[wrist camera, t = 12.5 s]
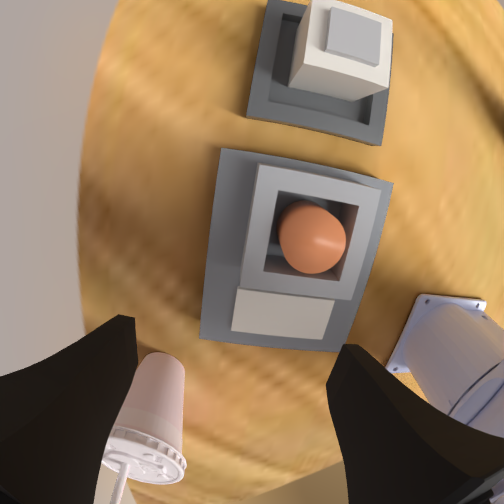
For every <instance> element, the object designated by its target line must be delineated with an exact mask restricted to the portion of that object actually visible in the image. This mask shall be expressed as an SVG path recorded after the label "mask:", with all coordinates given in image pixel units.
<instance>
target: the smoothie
mask: <svg viewBox="0 0 504 504" xmlns="http://www.w3.org/2000/svg"><path fill="white" fill-rule="evenodd" d="M184 379H185V370H184V367H183V365H182V364H181V362H180V361H179V360H177V359H176V358H175V357H173V356H171V355H169V354H166V353H161V352H154V353H150V354H148V355H147V356H145V358H144V359H143V361H142V362H141V364H140V365H139V367H138V368H137V370H136V372H135V375H134V378H133V381H132V384H131V387H130V389H129V392H128V394H127V396H126V398H125V401H124V403H123V405H122V407H121V409H120V412H119V414H118V416H117V418H116V421H115V423H114V425H113V428H112V430H111V432H110V435H109V438H108V440H107V443H106V447H105V450H104V454H103V458H102V462H101V463H102V464H104V465H105V466H107V467H108V468H110V469H112V470H113V471H115V472H117V473H119V474H118V477H117V480H116V484H115V487H114V491H113V494H112V498H111V501H110V504H120V501H121V497H122V494H123V490H124V486H125V482H126V479H127V477H128V478H131V479H134V480H137V481H141V482H146V483H152V484H172V483H176V482H178V481H180V480H181V479H182V478H183V477H184V471H185V468H186V466H187V464H186V459H185V458H184V457H183V455H182V424H183V398H184Z"/></svg>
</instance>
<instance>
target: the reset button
mask: <svg viewBox="0 0 504 504" xmlns="http://www.w3.org/2000/svg"><path fill="white" fill-rule="evenodd" d="M276 231H277V236H278V239H279V242H280V245H281V248H282V251H283V254H284V256H285V258H286V260H287V262H288V263H289V264H290V265H291V266H292V267H293V268H295V269H296V270H298V271H300V272H303V273H308V274H316V273H321V272H324V271H326V270H328V269H330V268H331V267H333V266H334V265H335V264H336V263H337V262H338V261H339V260H340V258H341V256H342V254H343V252H344V249H345V245H346V235H345V231H344V228H343V226H342V225H341V223H340V222H339V221H338V220H337V219H336V218H335V217H334V216H333V215H332V214H330V213H329V212H328V211H327V210H325V209H324V208H323V207H321V206H320V205H319V204H317V203H315V202H312V201H307V200H302V201H297V202H294V203H292V204H290V205H288V206H287V207H286V208H285V209H284V210H283V211H282V212H281V214H280V216H279V218H278V220H277V225H276Z"/></svg>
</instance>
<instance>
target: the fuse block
mask: <svg viewBox="0 0 504 504" xmlns="http://www.w3.org/2000/svg"><path fill="white" fill-rule="evenodd" d="M391 49H392V20H391V19H388V18H386V17H383V16H381V15H378V14H376V13H373V12H370V11H367V10H365V9H362V8H359V7H356V6H353V5H350V4H346V3H343V2H340V1H336V0H310V2H309V4H308V6H307V8H306V11H305V13H304V15H303V17H302V19H301V22H300V24H299V26H298V28H297V31H296V36H295V43H294V49H293V56H292V62H291V69H290V75H289V82H288V87H290V88H295V89H300V90H305V91H310V92H314V93H318V94H323V95H327V96H331V97H335V98H338V99H342V100H346V101H349V102H354V101H356V100H359V99H361V98H364V97H366V96H369V95H371V94H374V93H377V92H379V91H382V90H385V89H387V88H389V78H390V65H391Z"/></svg>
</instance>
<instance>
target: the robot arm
mask: <svg viewBox="0 0 504 504" xmlns="http://www.w3.org/2000/svg"><path fill="white" fill-rule="evenodd" d="M426 300H427V301H426ZM425 301H426V302H425ZM485 307H486V301H485V300H482V299H471V298H460V297H450V296H440V295H430V294H421V295H419V296H418V297H417V299H416V301H415V304H414V306H413V309H412V311H411V314H410V316H409V318H408V321H407V323H406V325H405V327H404V330H403V332H402V334H401V336H400V338H399V341H398V343H397V345H396V347H395V349H394V351H393V353H392V355H391V357H390V359H389V361H388V363H387V365H386V367H383V366H382V365H381V364H380V363H379V362H378V361H377V360H376V359H375V358H373V357H372V356H371V355H370V354H369V353H368V352H367V351H365V350H364V349H363V348H362V347H361V346H359V345H356V344H343V345H342V347H341V350H340V352H339V355H338V357H337V360H336V362H335V364H334V367H333V369H332V371H331V374H330V376H329V378H328V381H327V383H326V390H327V398H328V405H329V410H330V414H331V417H332V421H333V424H334V428H335V431H336V435H337V438H338V442H339V445H340V449H341V452H342V456H343V460H344V465H345V472H346V479H347V488H348V499H349V504H504V330H503V329H502V328H501V327H500V326H499V325H498V324H497V323H496V322H495V321H494V320H492V319H491V318H490V317H489V316H488V315H487V314H486V313H485V312H483V311H484V309H485ZM137 365H138V354H137V343H136V329H135V318H134V317H129V316H124V315H119V314H118V315H117V316H115V317H113V318H112V319H110V320H109V321H107V322H106V323H104V324H103V325H101V326H100V327H98V328H97V329H95V330H94V331H92V332H91V333H89V334H87V335H86V336H84V337H83V338H81V339H80V340H78V341H77V342H75V343H73V344H71V345H70V346H68V347H66V348H65V349H63V350H61V351H59V352H58V353H56V354H54V355H52V356H50V357H48V358H46V359H44V360H42V361H41V362H38V363H36V364H33V365H31V366H29V367H27V368H24V369H21V370H18V371H15V372H13V373H10V374H7V375H4V376H1V377H0V504H93V503H94V496H95V490H96V484H97V480H98V474H99V470H100V466H101V462H102V458H103V454H104V450H105V447H106V443H107V440H108V438H109V435H110V432H111V430H112V428H113V425H114V423H115V421H116V418H117V416H118V414H119V412H120V409H121V407H122V405H123V403H124V401H125V398H126V396H127V394H128V392H129V389H130V387H131V384H132V381H133V378H134V375H135V372H136V368H137ZM403 372H411V373H412V375H413V377H414V378H415V380H416V381H417V383H418V385H419V386H420V388H421V390H422V391H423V393H424V395H425V396H426V398H427V400H428V401H429V403H430V404H429V403H427V402H426V401H424V400H423V399H422V398H420V397H419V396H418V395H416V394H415V393H414V392H413V391H411V390H410V389H409V388H408V387H406V386H405V385H404V384H403V383H402V382H400V381H399V380H398V379H397V378H396V377H395V376H393V375H392V374H391V373H403Z"/></svg>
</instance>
